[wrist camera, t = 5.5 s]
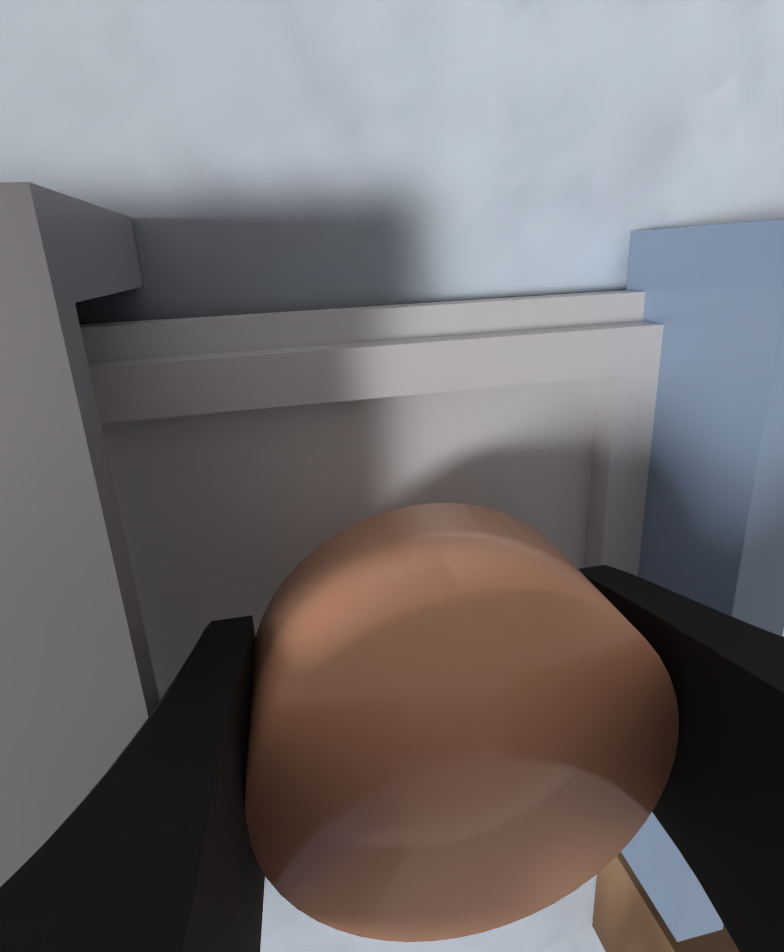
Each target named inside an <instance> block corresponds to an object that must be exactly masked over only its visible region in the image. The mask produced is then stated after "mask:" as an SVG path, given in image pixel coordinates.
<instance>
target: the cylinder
mask: <svg viewBox="0 0 784 952" xmlns="http://www.w3.org/2000/svg"><path fill="white" fill-rule="evenodd" d="M678 734H679V714H678V706H677V699H676V694H675V691H674V688H673V685H672V681H671V678H670V675H669V673H668V672H667V670H666V668H665V666H664V664H663V662H662V660H661V658H660V656H659V655H658V654H657V653H656V651H655V650H654V649H653V647H652V646H651V645H650V644H649V642H648V641H647V640H646V639H645V638H644V637H643V636H642V635H641V633H640V632H639V631H638V630H637V629H636V628H635V627H634V626H633V625H632V624H631V623H630V622H629V621H628V620H627V619H626V618H625V617H624V616H623V615H622V614H621V613H620V612H619V611H618V610H617V609H616V608H615V607H614V606H613V604H612V603H611V602H610V601H609V600H608V599H607V598H606V597H605V596H604V595H603V594H602V593H601V592H600V591H599V590H598V589H597V588H596V587H595V586H594V585H593V584H592V583H591V582H590V581H589V580H588V579H587V578H586V577H585V575H584V574H583V573H582V572H581V571H580V570H579V569H578V568H577V567H576V566H575V565H574V564H573V563H572V562H571V561H570V560H569V559H568V558H567V557H566V556H565V555H564V554H563V553H562V552H561V551H560V550H559V549H558V548H557V546H555V545H554V544H553V543H552V542H551V541H550V540H549V539H548V538H547V537H546V536H544V535H543V534H542V533H541V532H539V531H538V530H536V529H535V528H533V527H532V526H530V525H529V524H527V523H526V522H524V521H522V520H519V519H517V518H515V517H513V516H511V515H509V514H506V513H503V512H500V511H497V510H493V509H490V508H487V507H482V506H476V505H469V504H463V503H430V504H420V505H412V506H408V507H403V508H399V509H394V510H390V511H387V512H384V513H381V514H378V515H375V516H373V517H370V518H367V519H365V520H363V521H360V522H358V523H356V524H354V525H352V526H350V527H348V528H346V529H344V530H342V531H341V532H339V533H338V534H336V535H335V536H333V537H332V538H330V539H329V540H327V541H325V542H324V543H322V544H321V545H320V546H319V547H317V548H316V549H315V550H314V551H313V552H311V553H310V554H309V555H308V556H307V557H306V558H304V559H303V560H302V561H301V562H300V563H299V564H298V566H297V567H296V568H295V569H294V570H293V571H292V572H291V573H290V574H289V575H288V576H287V577H286V579H285V580H284V582H283V583H282V584H281V586H280V587H279V589H278V590H277V591H276V593H275V594H274V596H273V597H272V599H271V601H270V603H269V605H268V607H267V609H266V611H265V612H264V614H263V616H262V619H261V622H260V625H259V628H258V630H257V633H256V636H255V641H254V672H253V684H252V697H251V710H250V722H249V735H248V748H247V770H246V794H245V816H246V822H247V827H248V833H249V839H250V844H251V847H252V850H253V853H254V855H255V858H256V860H257V862H258V864H259V865H260V867H261V869H262V871H263V872H264V874H265V876H266V878H267V879H268V880H269V881H270V882H271V884H272V885H273V886H274V887H275V888H276V890H277V891H278V892H279V893H280V894H281V895H282V896H283V897H284V898H285V899H286V900H288V901H289V902H290V903H291V904H292V905H293V906H295V907H296V908H297V909H298V910H300V911H302V912H303V913H305V914H307V915H308V916H310V917H311V918H313V919H315V920H316V921H319V922H321V923H323V924H325V925H328V926H330V927H332V928H335V929H337V930H340V931H343V932H347V933H350V934H354V935H357V936H361V937H367V938H373V939H378V940H386V941H402V942H418V941H436V940H444V939H452V938H459V937H463V936H468V935H472V934H477V933H481V932H485V931H488V930H491V929H495V928H498V927H501V926H504V925H507V924H510V923H512V922H515V921H517V920H520V919H522V918H525V917H527V916H529V915H532V914H534V913H536V912H538V911H540V910H542V909H544V908H546V907H548V906H549V905H551V904H553V903H555V902H557V901H558V900H560V899H562V898H563V897H565V896H566V895H568V894H570V893H571V892H573V891H575V890H576V889H577V888H579V887H580V886H582V885H583V884H584V883H586V882H587V881H588V880H590V879H591V878H592V877H594V876H595V875H596V874H597V873H599V872H600V871H601V870H602V869H603V868H604V867H605V866H606V865H608V864H609V863H610V862H611V861H612V860H613V859H614V858H615V857H616V856H617V855H618V854H619V853H620V852H621V851H622V850H623V849H624V848H625V847H626V846H627V845H628V843H629V842H630V841H631V840H632V839H633V838H634V836H635V835H636V834H637V832H638V831H639V830H640V828H641V827H642V826H643V825H644V823H645V822H646V820H647V819H648V817H649V816H650V814H651V812H652V811H653V809H654V807H655V806H656V804H657V803H658V801H659V799H660V796H661V794H662V792H663V790H664V788H665V786H666V784H667V781H668V779H669V775H670V772H671V769H672V766H673V763H674V760H675V755H676V749H677V743H678Z"/></svg>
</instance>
